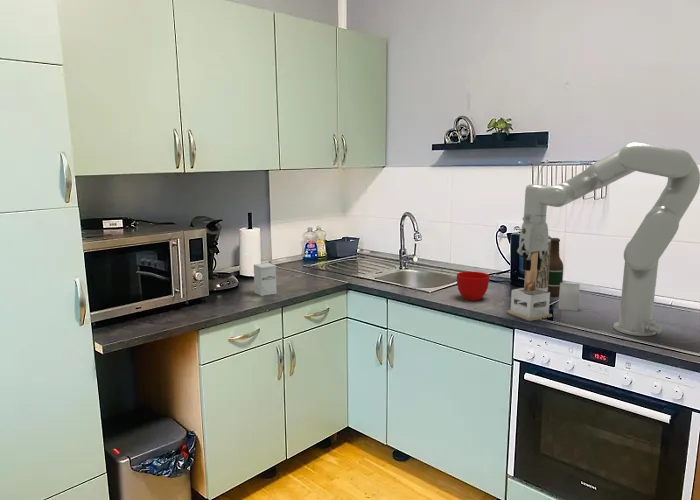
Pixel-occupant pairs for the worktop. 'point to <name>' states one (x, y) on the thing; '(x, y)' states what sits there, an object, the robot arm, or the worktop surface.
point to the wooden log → (544, 270)
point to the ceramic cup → (472, 284)
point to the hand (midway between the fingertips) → (531, 269)
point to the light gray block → (569, 296)
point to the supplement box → (265, 279)
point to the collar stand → (530, 304)
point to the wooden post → (531, 273)
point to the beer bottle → (555, 269)
